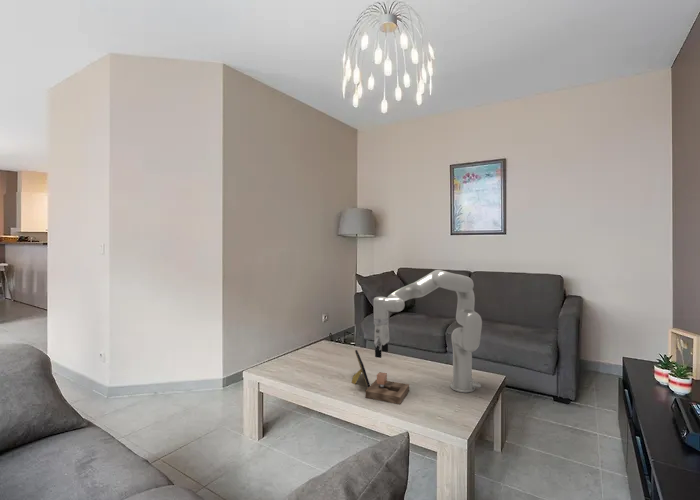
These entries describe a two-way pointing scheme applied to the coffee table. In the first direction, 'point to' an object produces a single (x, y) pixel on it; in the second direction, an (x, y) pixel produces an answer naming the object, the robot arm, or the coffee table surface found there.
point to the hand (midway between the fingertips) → (381, 354)
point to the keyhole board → (388, 392)
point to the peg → (381, 379)
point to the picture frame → (360, 371)
